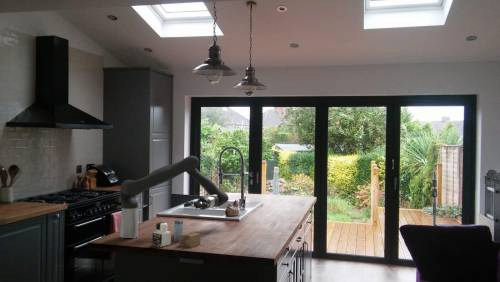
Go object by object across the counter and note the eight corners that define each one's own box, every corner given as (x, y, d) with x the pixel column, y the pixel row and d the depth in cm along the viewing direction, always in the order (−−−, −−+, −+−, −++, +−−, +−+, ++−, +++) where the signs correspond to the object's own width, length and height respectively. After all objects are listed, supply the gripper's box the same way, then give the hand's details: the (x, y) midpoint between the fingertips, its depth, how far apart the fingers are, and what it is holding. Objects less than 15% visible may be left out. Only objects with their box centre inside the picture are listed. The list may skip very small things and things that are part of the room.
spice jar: (171, 240, 239) (172, 220, 239) (177, 238, 244) (178, 219, 244) (179, 241, 237) (179, 221, 237) (184, 240, 241) (185, 220, 241)
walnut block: (179, 245, 228) (179, 234, 228) (188, 242, 235) (188, 231, 235) (191, 247, 224) (191, 236, 224) (200, 244, 231) (200, 233, 231)
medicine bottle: (152, 245, 228) (152, 222, 228) (161, 242, 234) (162, 221, 234) (161, 247, 224) (161, 224, 224) (171, 244, 230) (171, 222, 230)
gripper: (196, 195, 267) (180, 198, 253) (215, 197, 260) (199, 200, 245) (196, 207, 267) (180, 211, 253) (215, 209, 260) (199, 213, 246)
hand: (190, 206), depth 249 cm, fingers open, 8 cm apart
